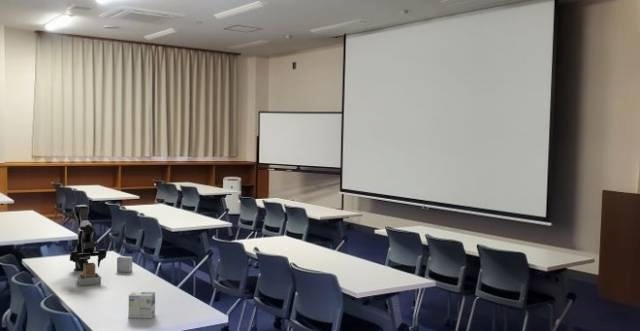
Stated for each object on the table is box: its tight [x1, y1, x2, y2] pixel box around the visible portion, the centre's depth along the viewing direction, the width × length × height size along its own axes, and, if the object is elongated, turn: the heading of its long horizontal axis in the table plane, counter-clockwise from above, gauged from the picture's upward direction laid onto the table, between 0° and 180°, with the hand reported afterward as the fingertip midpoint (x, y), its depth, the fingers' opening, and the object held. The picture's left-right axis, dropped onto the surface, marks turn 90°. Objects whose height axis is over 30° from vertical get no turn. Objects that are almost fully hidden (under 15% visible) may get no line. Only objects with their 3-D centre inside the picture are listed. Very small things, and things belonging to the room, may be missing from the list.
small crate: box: [82, 262, 96, 278], centre depth 313 cm, size 6×6×10 cm
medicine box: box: [116, 255, 133, 273], centre depth 342 cm, size 8×4×9 cm, turn 84°
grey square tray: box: [77, 272, 102, 287], centre depth 313 cm, size 11×11×4 cm
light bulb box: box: [127, 291, 156, 319], centre depth 260 cm, size 11×7×11 cm, turn 92°
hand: (89, 267), depth 311 cm, fingers open, 9 cm apart
